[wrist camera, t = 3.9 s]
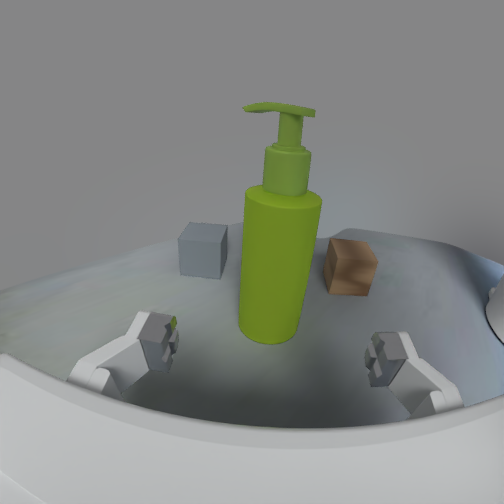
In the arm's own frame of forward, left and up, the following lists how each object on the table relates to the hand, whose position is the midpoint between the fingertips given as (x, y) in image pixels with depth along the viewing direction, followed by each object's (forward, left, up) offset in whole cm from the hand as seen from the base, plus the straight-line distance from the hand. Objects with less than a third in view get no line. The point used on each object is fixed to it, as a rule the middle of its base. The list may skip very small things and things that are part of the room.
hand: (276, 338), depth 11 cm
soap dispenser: (0, -13, -11) cm, 17 cm away
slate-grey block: (+8, -22, -11) cm, 26 cm away
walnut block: (-10, -21, -11) cm, 26 cm away
